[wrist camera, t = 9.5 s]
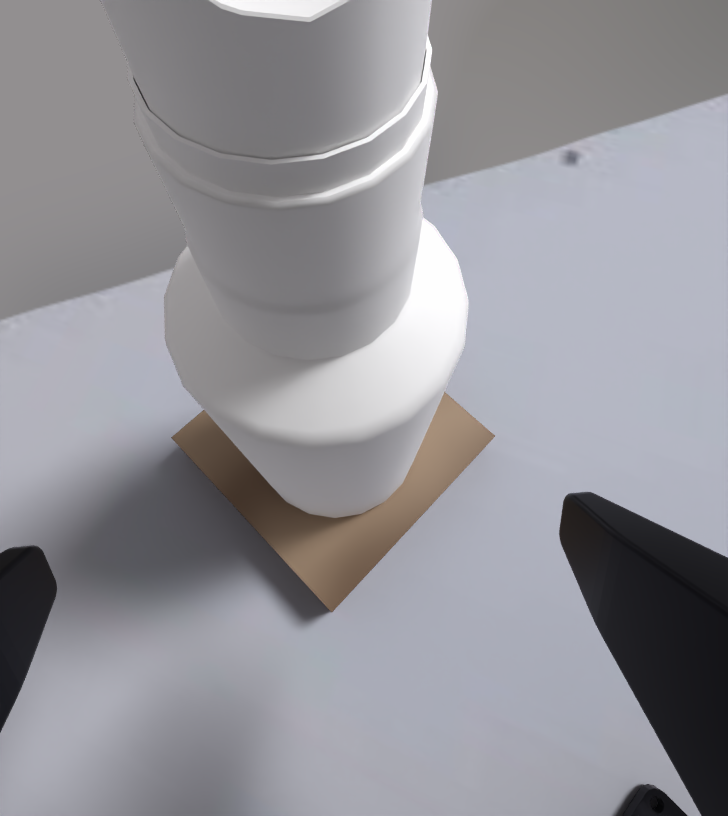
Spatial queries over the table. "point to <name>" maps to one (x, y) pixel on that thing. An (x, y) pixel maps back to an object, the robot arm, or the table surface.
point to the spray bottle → (301, 231)
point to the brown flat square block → (345, 536)
